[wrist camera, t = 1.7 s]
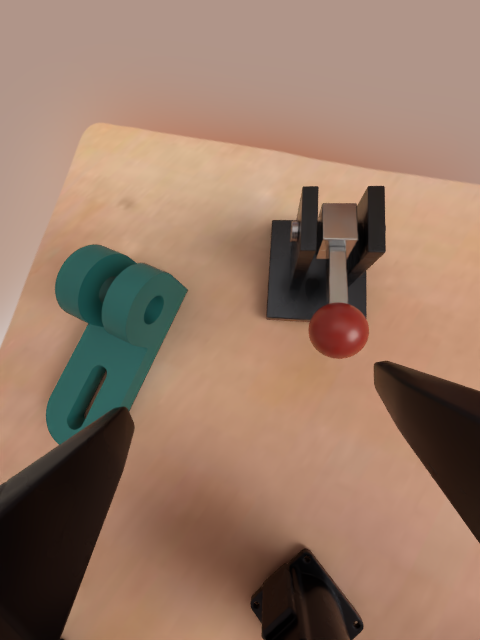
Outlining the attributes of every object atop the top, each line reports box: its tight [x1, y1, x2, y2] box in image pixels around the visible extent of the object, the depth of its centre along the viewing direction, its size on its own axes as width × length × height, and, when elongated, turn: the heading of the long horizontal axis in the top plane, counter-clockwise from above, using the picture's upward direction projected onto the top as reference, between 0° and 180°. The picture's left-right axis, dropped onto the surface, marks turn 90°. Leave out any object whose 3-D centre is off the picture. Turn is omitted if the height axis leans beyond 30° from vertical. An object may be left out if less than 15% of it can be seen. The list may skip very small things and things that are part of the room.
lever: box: [309, 203, 369, 359], centre depth 16 cm, size 10×3×3 cm, turn 176°
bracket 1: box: [46, 245, 188, 445], centre depth 22 cm, size 18×7×8 cm, turn 156°
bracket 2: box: [266, 186, 386, 322], centre depth 20 cm, size 10×9×10 cm
